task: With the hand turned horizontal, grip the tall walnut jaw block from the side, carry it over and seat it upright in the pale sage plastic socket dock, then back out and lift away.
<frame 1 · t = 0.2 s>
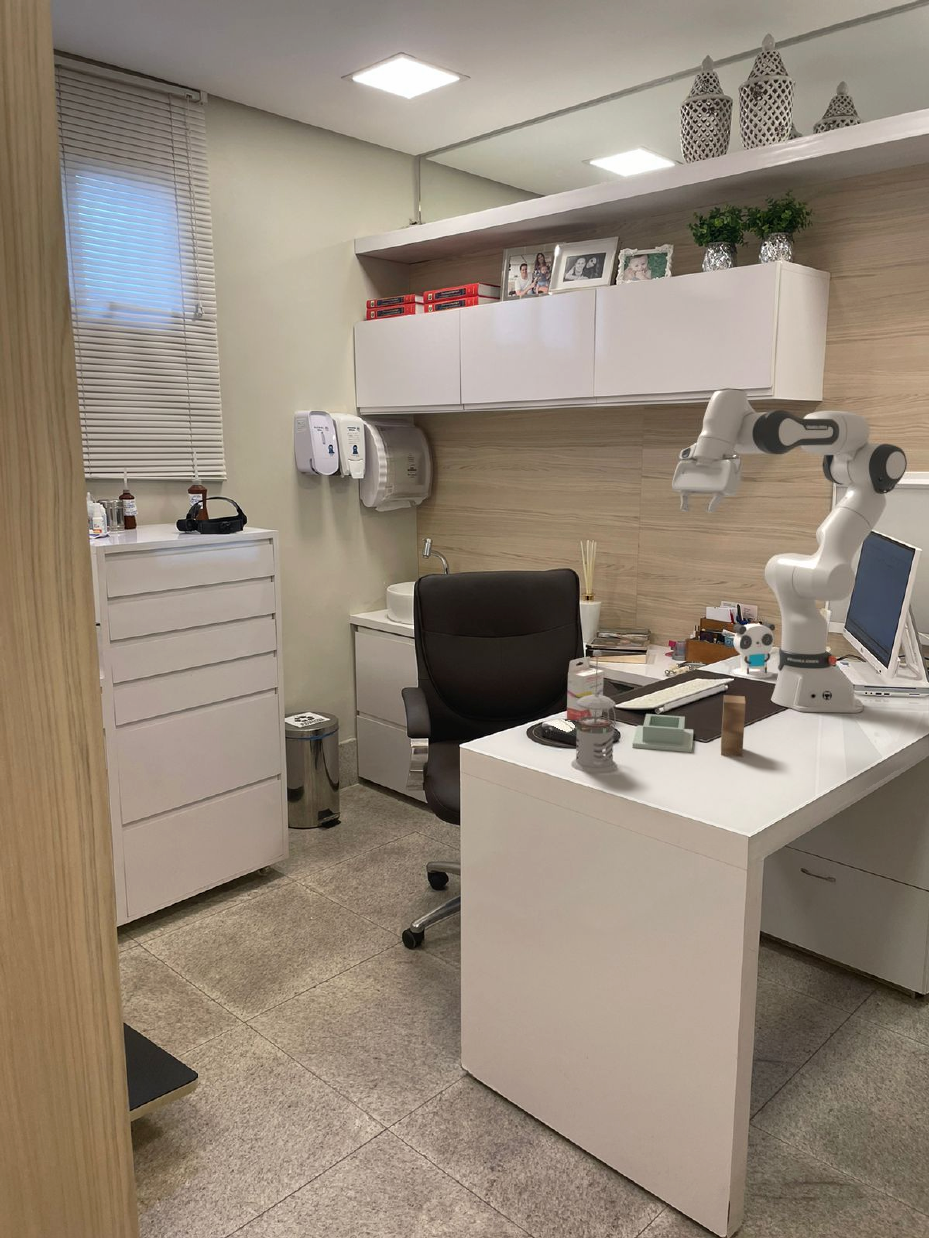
hand: (696, 511, 222), 51 cm above the table, tool tilted 20°, fingers open, 8 cm apart
ink cartridge box: (584, 717, 234), on the table
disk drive: (579, 740, 218), on the table
walnut jaw block: (731, 751, 209), on the table
french press: (596, 764, 200), on the table
panda figurine: (751, 674, 279), on the table
socket dock: (663, 740, 216), on the table
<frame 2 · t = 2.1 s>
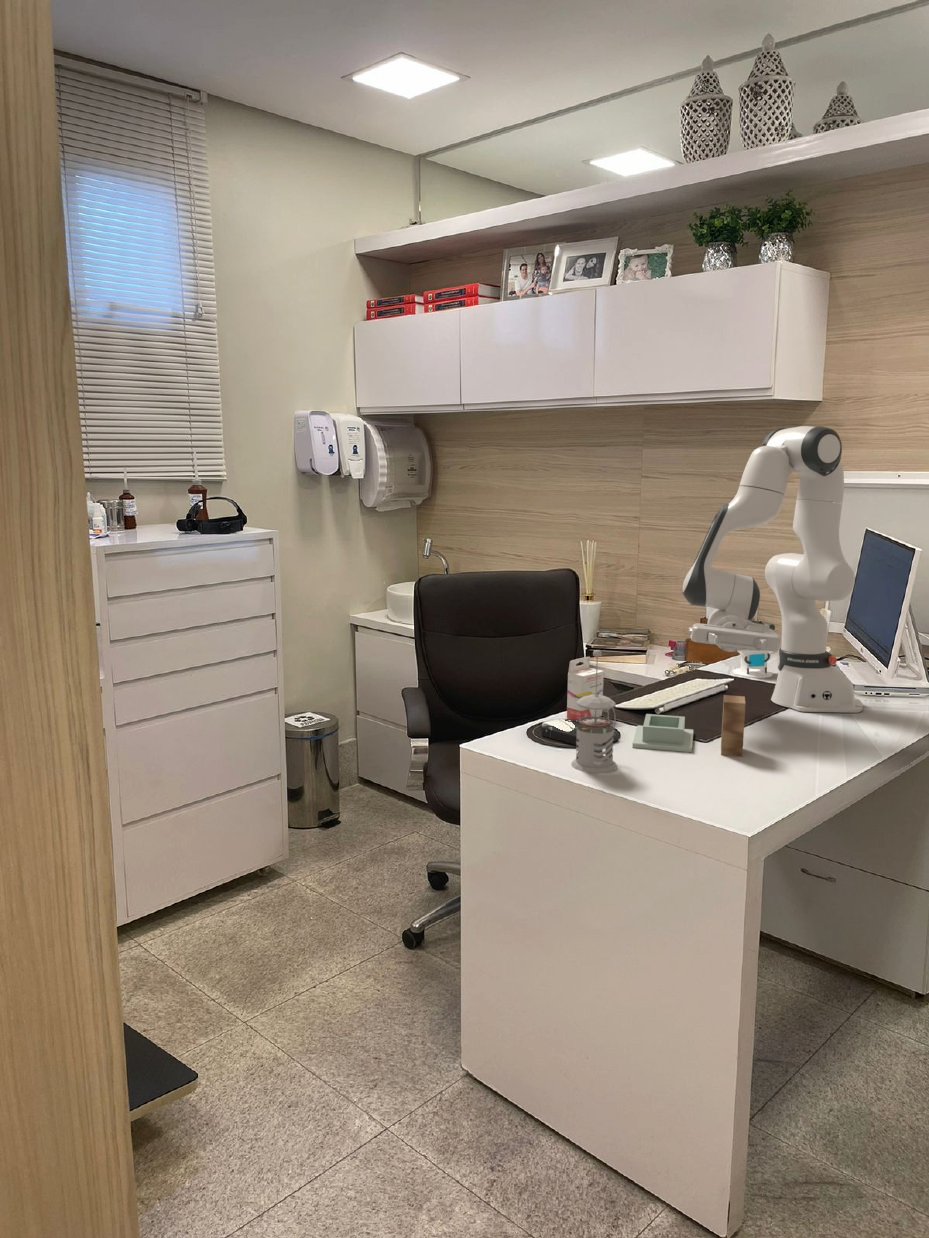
hand: (739, 643, 215), 22 cm above the table, tool horizontal, fingers open, 8 cm apart
nothing on the table moved.
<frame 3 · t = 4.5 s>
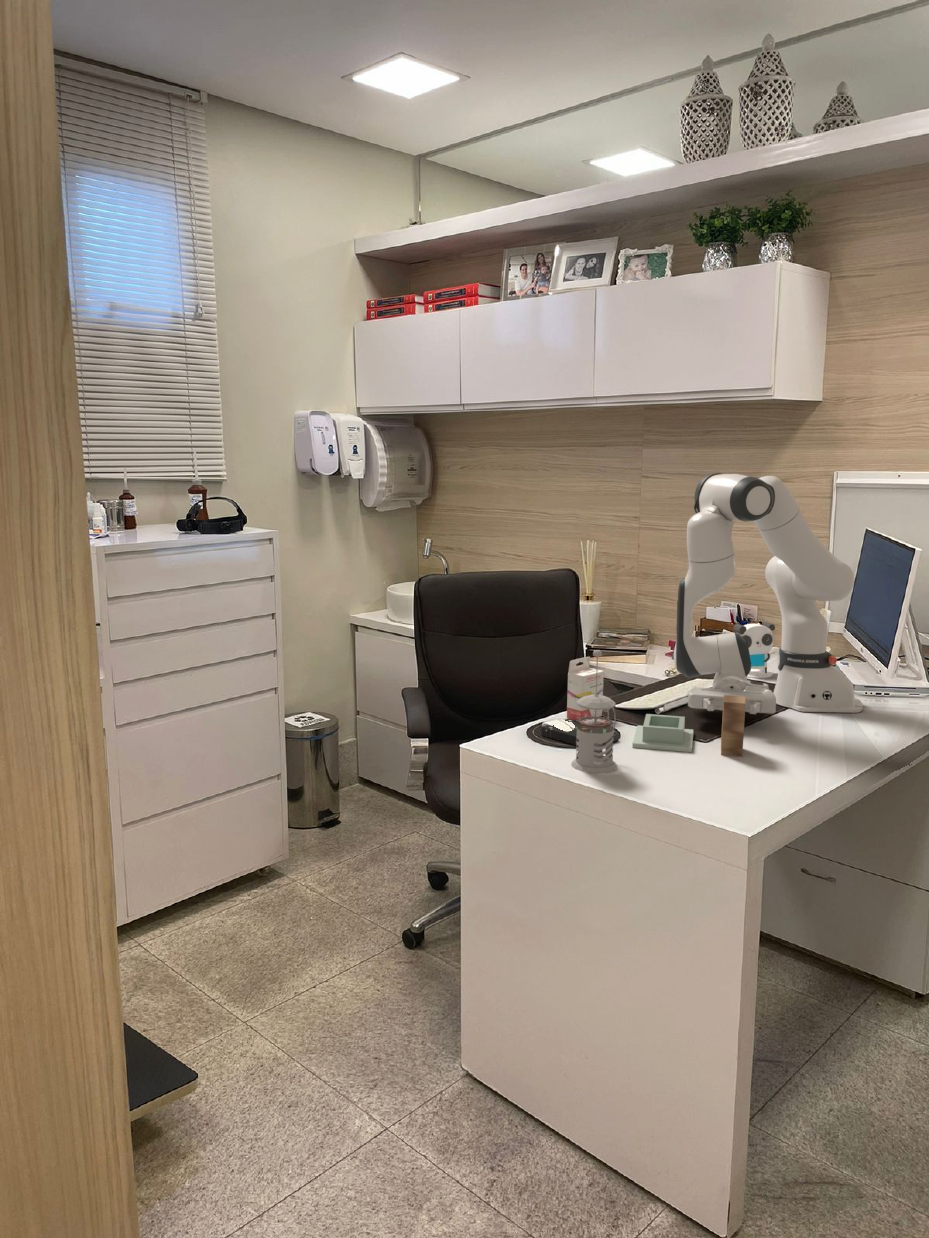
hand: (731, 709, 218), 7 cm above the table, tool horizontal, fingers open, 8 cm apart
nothing on the table moved.
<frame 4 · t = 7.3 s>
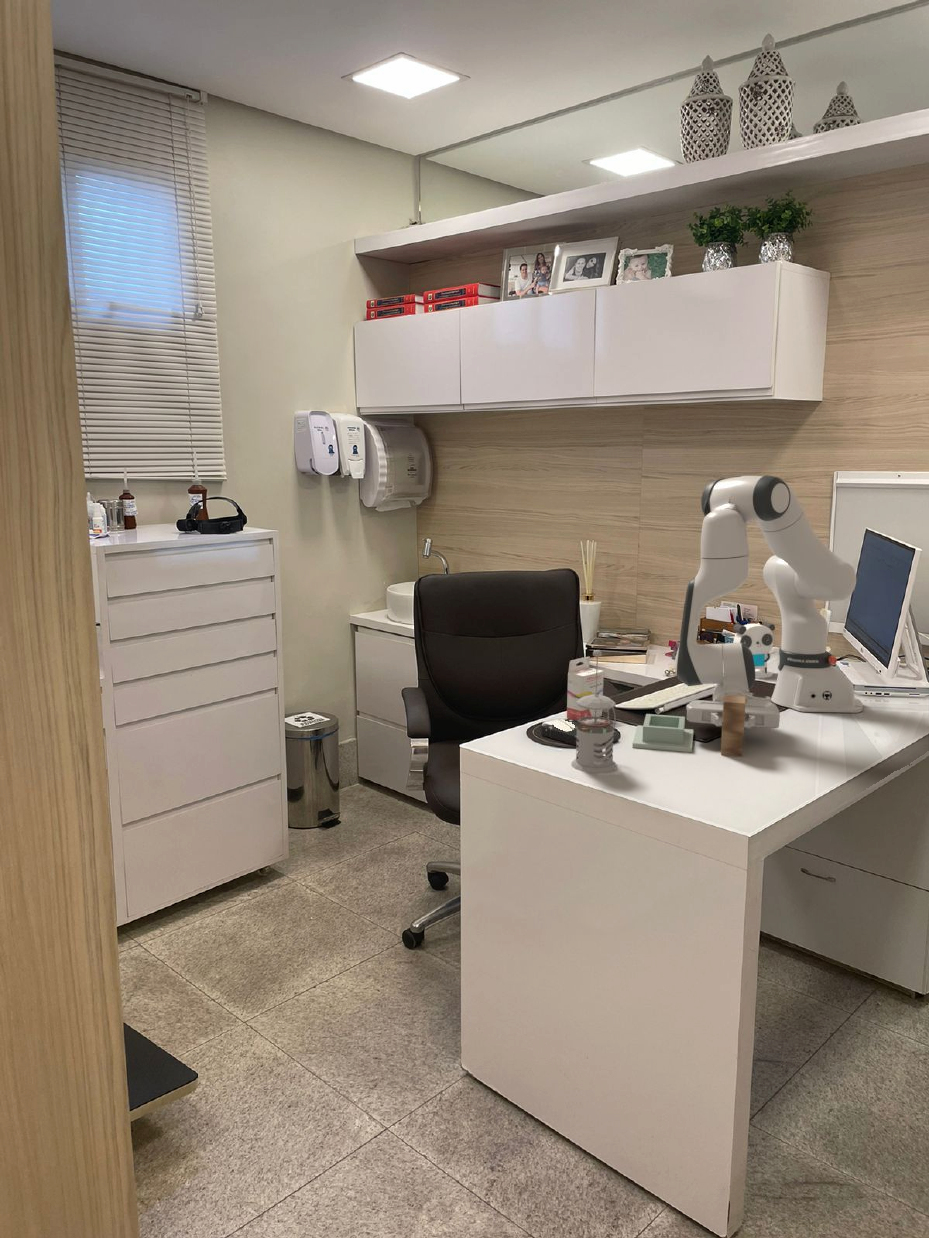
hand: (733, 724, 207), 7 cm above the table, tool horizontal, fingers closed on walnut jaw block, 4 cm apart
walnut jaw block: (731, 751, 209), on the table, touching gripper
everything else where it was.
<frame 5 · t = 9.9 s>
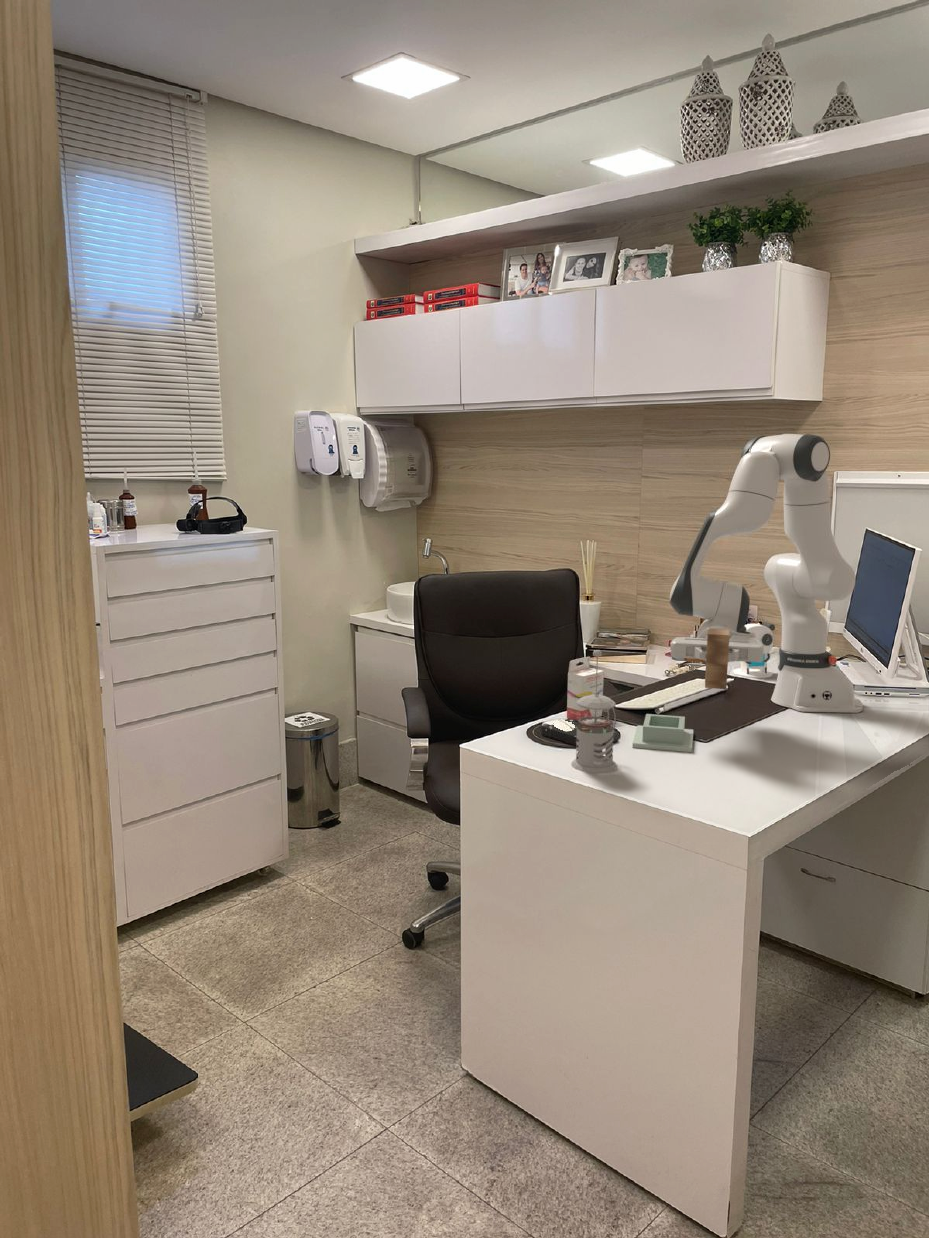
hand: (716, 657, 206), 21 cm above the table, tool horizontal, fingers closed on walnut jaw block, 4 cm apart
walnut jaw block: (715, 685, 208), point 15 cm above the table, touching gripper
everything else where it was.
when the fingers open (9 cm above the table, at t = 12.6 s): walnut jaw block drops 1 cm, resting on socket dock.
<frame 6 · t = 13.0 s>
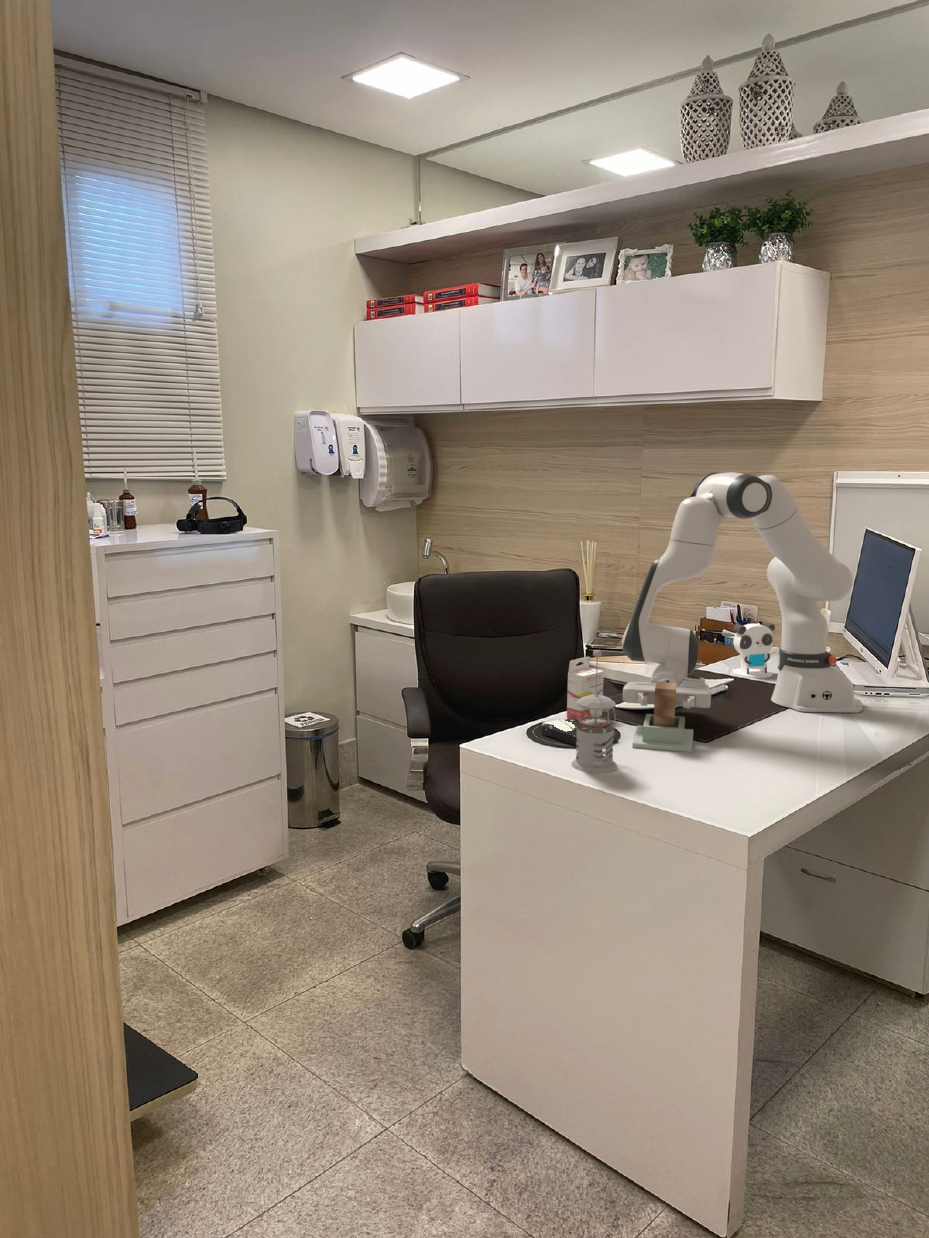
hand: (665, 703, 214), 9 cm above the table, tool horizontal, fingers open, 8 cm apart
walnut jaw block: (663, 736, 216), point 1 cm above the table, touching socket dock
everything else where it was.
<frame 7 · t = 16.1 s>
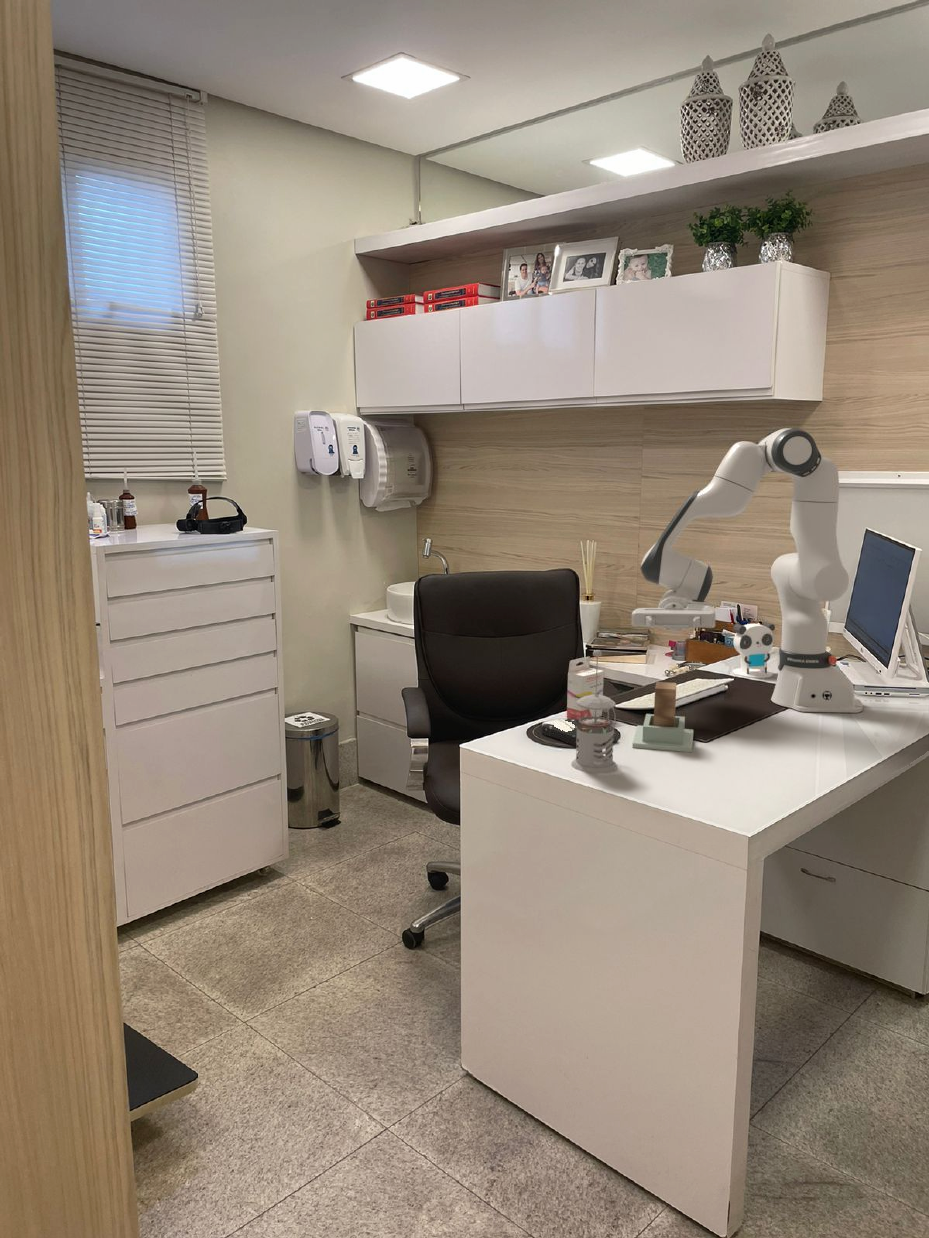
hand: (672, 624, 225), 25 cm above the table, tool horizontal, fingers open, 8 cm apart
nothing on the table moved.
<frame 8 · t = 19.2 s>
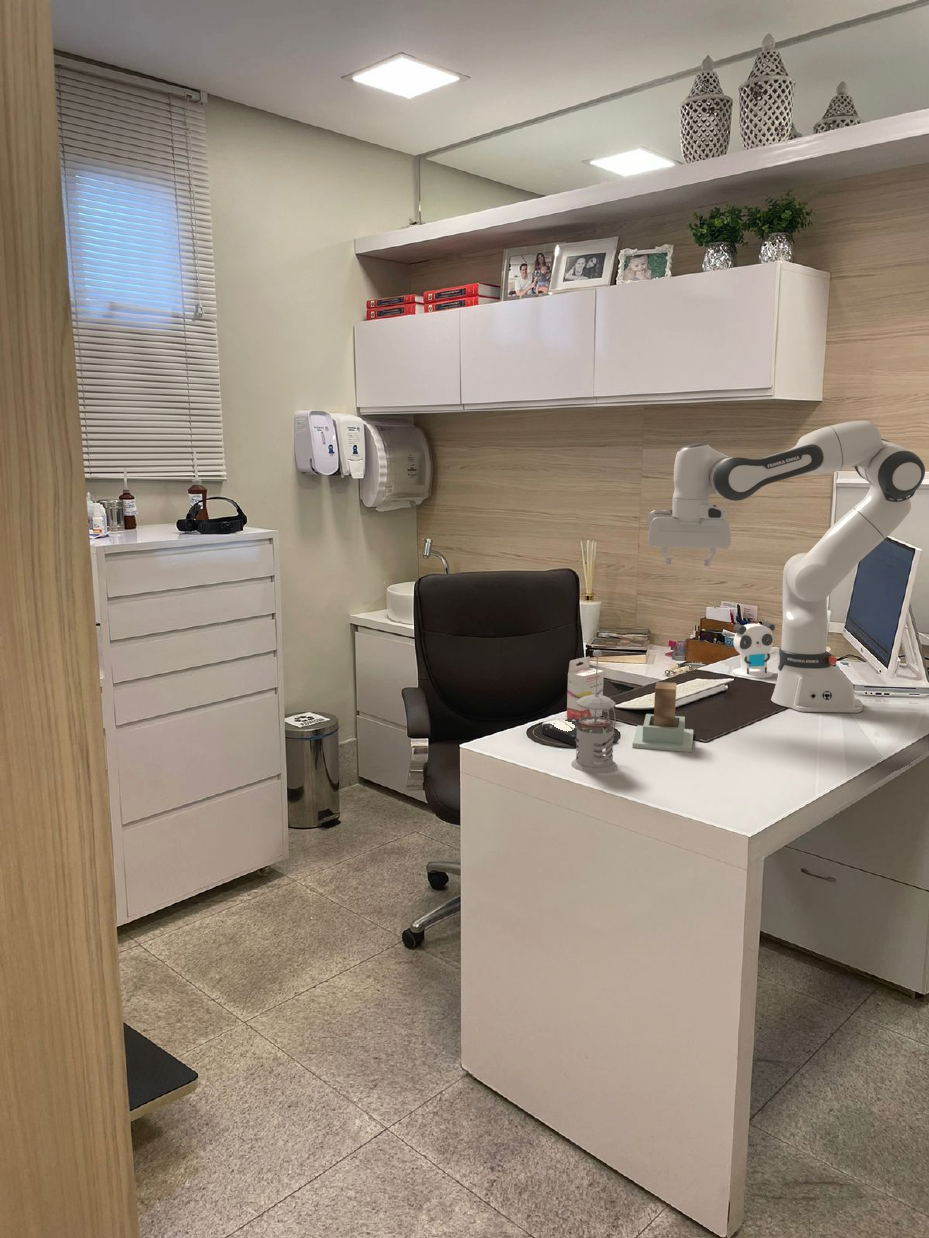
hand: (687, 565, 235), 37 cm above the table, tool pointing down, fingers open, 8 cm apart
nothing on the table moved.
at the end: walnut jaw block 0.0 cm off-centre on the socket dock, point 1.0 cm above the socket dock's base; walnut jaw block tilted 0°; the gripper is holding nothing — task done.
